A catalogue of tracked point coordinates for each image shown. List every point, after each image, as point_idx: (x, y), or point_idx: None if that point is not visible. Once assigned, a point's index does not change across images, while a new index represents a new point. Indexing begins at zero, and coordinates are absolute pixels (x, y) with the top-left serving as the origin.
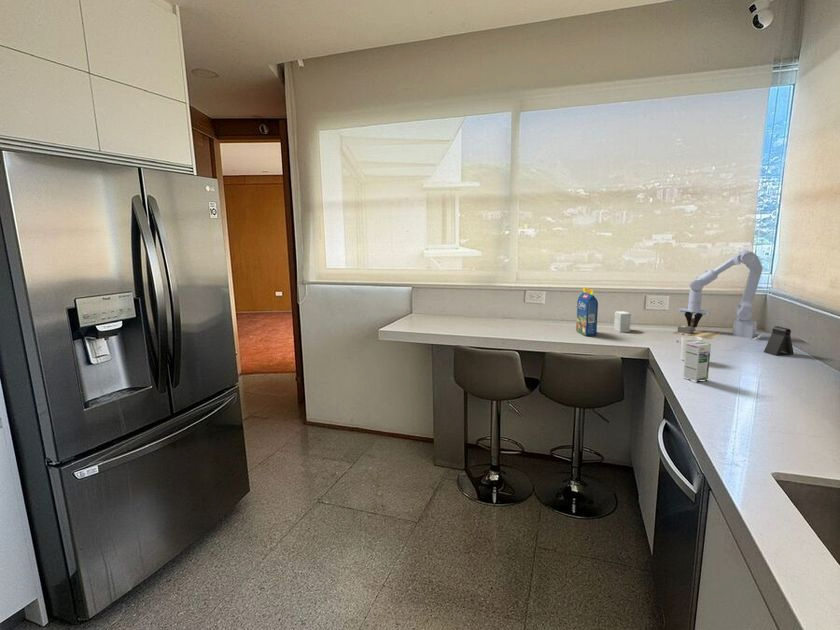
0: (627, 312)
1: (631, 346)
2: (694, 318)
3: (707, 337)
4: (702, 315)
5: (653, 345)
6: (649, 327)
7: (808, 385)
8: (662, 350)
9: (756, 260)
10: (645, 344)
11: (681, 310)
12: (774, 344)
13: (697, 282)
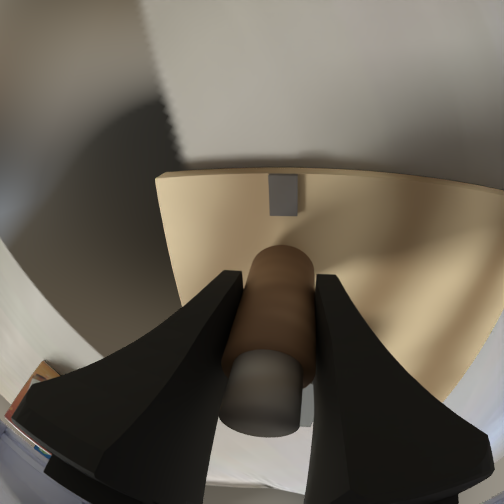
0: (30, 439)
1: (229, 482)
2: (281, 417)
3: (433, 387)
4: (472, 460)
5: (261, 477)
6: (21, 269)
7: (499, 455)
8: (300, 486)
9: None
10: (240, 475)
11: (13, 461)
12: None
13: None
